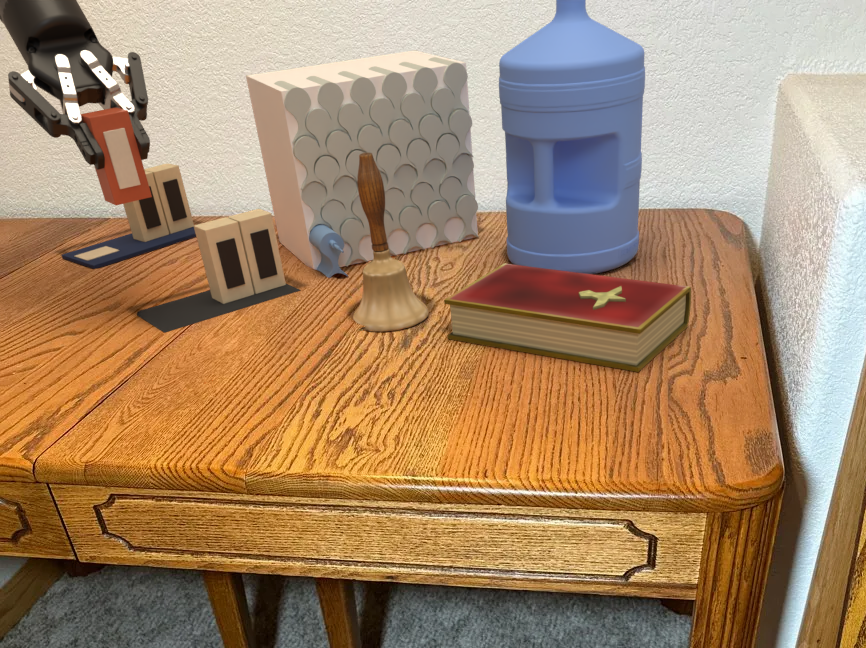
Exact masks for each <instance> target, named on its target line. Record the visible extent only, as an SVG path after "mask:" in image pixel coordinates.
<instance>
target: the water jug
mask: <svg viewBox="0 0 866 648" xmlns="http://www.w3.org/2000/svg"><path fill="white" fill-rule="evenodd" d="M586 2H587V1H586V0H555V14H554V17H553V18H552V20H551V21H549V22H548V23H547V24H545V25H544V26H543V27H541V28H539V29H538V30H536V32H533V34H531V35H530V36H528V37H526V38H525V39H524V40H522V41H520V43H518V44H517V45H516V46H513V47H512V48H511V49H510V50H508V51H507V52H505V53H504V54H503V55H502V56H500V59H499V62H498V64H499V65H498V70H499V77H498V96H499V97H498V99H499V105H500V109H501V110H500V111H501V128H502V130H503V131H504V141H505V143H504V144H505V163H506V164H505V166H506V169H505V170H506V183H507V184H506V185H507V186H506V187H507V188H506V198H505V211H506V214H505V215H506V230H507V232H506V233H507V237H506V255H507V258H508V260H509V261H510V264H513V265H521V266H529V267H537V268H545V269H553V270H561V271H569V272H577V273H585V274H593V275H598V274H601V273H605V272H609V271H613V270H615V269H618V268H621V267H623V266H624V265H626V264H628V263H629V262H631V260H633V258H635V256H636V255H637V253H638V252H639V251H638V250H639V245H640V231H639V214H640V212H639V210H640V185H641V184H640V183H641V178H642V171H643V170H642V169H643V168H642V167H643V153H642V133H643V110H644V109H643V105H644V95H645V87H646V67H645V50H644V47H643V46H642V45H641V44H639V43H637V42H636V41H634V40H632V39H630V38H629V37H627V36H624V35H623V34H620V33H619V32H617V31H615V30H614V29H612V28H610V27H608V26H606V25H604V24H602V23H600V22H598V21H597V20H595V19H593V18H591V17H590V16H589V14H588V12H587V6H586V5H587V3H586Z"/></svg>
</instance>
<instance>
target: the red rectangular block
mask: <svg viewBox="0 0 866 648" xmlns="http://www.w3.org/2000/svg"><path fill="white" fill-rule="evenodd" d="M81 117H82V122H83V123H86V124H87V126H88V127H89V129H90V131H91V133H92V134H93V136H94V138H95V139H96V141H97V142H98V144H99V146H100V148H101V149H102V151H103V153H104V157H105V168H103V169H98V170H97V169H96V168H95V167H94V169H95V173H96V176H97V179H98V183H99V185H100V189H101V192H102V195H103V199H104V202H107V203H109V204H112V205H114V206H120V205H123V204H125V203H129V202H133V201H137V200H141V199H145V198H149V197H152V195H151V192H150V188H149V185H148V181H147V177H146V174H145V170H144V169H145V167H144V163H143V160H141V157H140V153H139V150H138V146H137V143H136V139H135V136H134V131H133V127H132V124H131V120H130V117H129V113H128V110H124V109H121V108H117V107H115V108H110V109H105V110H104V109H100V110H95V111H90V112H85V113H84V112H83V113H81Z"/></svg>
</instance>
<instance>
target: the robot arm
mask: <svg viewBox="0 0 866 648" xmlns="http://www.w3.org/2000/svg"><path fill="white" fill-rule="evenodd" d="M0 22H1V23H2V24H3V25H4V27H5V29H6V30H7V32H8V34H9V36H10V37H11V39H12V41H13V43H14V44H15V46H16V48H17V50H18V51H19V53H20V56H21V57H22V59H23V60H24V62H25V64H26V65H27V68H28V70H26V71H24V72H22V73H21V74H20V73H19V72H17V71H9V72H8V73H7V77H8V79H7V80H8V90H9V96H10V98H11V99H12V100H13V101H14V102H15V103H16V104H17V105H18V106H19V107H20V108H21V109H22V110H23V111H24V112H25V113H26V114H27V115H28V116H29V117H31V118H32V119H33V120H34V122H35V123H37V125H39V126H40V127H41V128H42V129H43V130H44V131H45V132H46V133H47V134H48V135H49V136H50V137H52V138H54V139H55V138H56V139H59V138H61V136H67V137H70V138H71V139H72V140H73V141H74V143H75V145H76V147H77V149H78V150H79V152H80V154H81V156H82V157H83V160H85V162H86V163H87V164H88V165H90V166H94V169H95V168H96V169H97V170H98V169H103V168H105V157H104V153H103V151H102V149H101V148H100V146H99V144H98V142H97V141H96V139H95V138H94V136H93V134H92V133H91V131H90V129H89V127H88V126H87V124H86V123H83V122H82V117H81V114H82V113H81V110H80V109H81V107H83V106H85V105H87V104H94V105H95V104H96V105H97V104H98V105H99V106H100V107H101V108H102V110H105V109H110V108H115V107H117V108H121V109H124V110H128V113H129V117H130V120H131V124H132V127H133V131H134V136H135V139H136V143H137V146H138V150H139V153H140V157H141V160H142V161H144V160H147V159H148V156H149V153H150V147H151V139H150V136H149V134H148V133H147V131H146V130H145V127H144V126H143V124H142V122H143V121H146V120H147V119H148V105H149V95H148V91H147V86H146V79H145V75H144V71H143V65H142V59H141V55H140V54H138V53H137V52H134V51H130V52H128V54H127V57H121V56H113V55H112V53H111V52H110V51H109V50H108V49H107V48H105V47H104V46H103V45H102V44H101V43H100V41H99V38H98V36H97V34H96V33H95V30H94V29H93V27H92V25H91V24H90V22H89V20H88V18H87V16H86V14H85V13H84V11H83V9H82V7H81V5H80V4H79V2H78V0H0ZM114 72H115V73H117V74H119V76H120V78H121V80H122V81H123V83H124V84H125V85H128V88H129V94H130V97H131V100H130V99H129V97H127V96H126V95H125V94H124V93H123V91H122V90H121V86H120V85H119V83H118V81H116V80H115V79H114V78H113V73H114ZM38 88H39V89H41V90H42V91H44V92H46V93H47V94H49V95H50V96H52V97H53V98H55V99H57V100H59V104H60V108H61V112H62V113H60V112H59V111H58V110H57V109H56V107H54V106H53V105H52V104H51V103H50V102H49V101H48V100H47V99H46V98H45V97H44V96H43V95H42V94H41V93H40V92H39V91H38ZM141 121H142V122H141Z"/></svg>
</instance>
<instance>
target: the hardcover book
mask: <svg viewBox="0 0 866 648" xmlns="http://www.w3.org/2000/svg"><path fill="white" fill-rule="evenodd" d="M443 302H444V303H443V304H444V305H449V309H450V319H451V330H452V331H451V332H449V333H448V334H447V339H448V340H453V341H458V342H464V343H470V344H476V345H480V346H481V345H482V346H487V347H493V348H498V349H505V350H510V351H514V352H515V351H516V352H521V353H526V354H527V353H528V354H534V355H537V356H538V355H539V356H544V357H551V358H555V359H556V358H557V359H563V360H567V361H572V362H579V363H584V364H590V365H597V366H603V367H606V368H607V367H608V368H613V369H619V370H624V371H631V372H635V373H639V372H640V371H641V370H643V369H644V367H646V366H647V365H648V364H649V363H650V362H651V361H653V359H655V357H657V356H658V355H659V354H660V353H661V352H662V351H663V350H664V349H666V348H667V347H668V346H669V345H670V344H671V343H672V342H673V341H674V340H675V339H676V338H677V337H679V336H680V335H681V334H682V333H683V332H684V331H686V329H687V328H689V327H688V326H689V322H690V316H691V306H692V287H691V286H688V285H680V284H671V283H664V282H656V281H648V280H640V279H632V278H624V277H617V276H607V275H600V274H585V273H577V272H569V271H561V270H553V269H545V268H537V267H529V266H521V265H513V264H512V263H505V262H504V263H502V264H501V265H499V266H497V267H496V268H494V269H492V270H490V271H489V272H487V273H486V274H484V275H483V276H480V277H479V278H478V279H476V280H474V281H472V282H471V283H469V284H468V285H466V286H465V287H462V288H461V289H459V290H457V291H456V292H454V293H453V294H451V295H449V296H447V297H446V298H444V299H443Z"/></svg>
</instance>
